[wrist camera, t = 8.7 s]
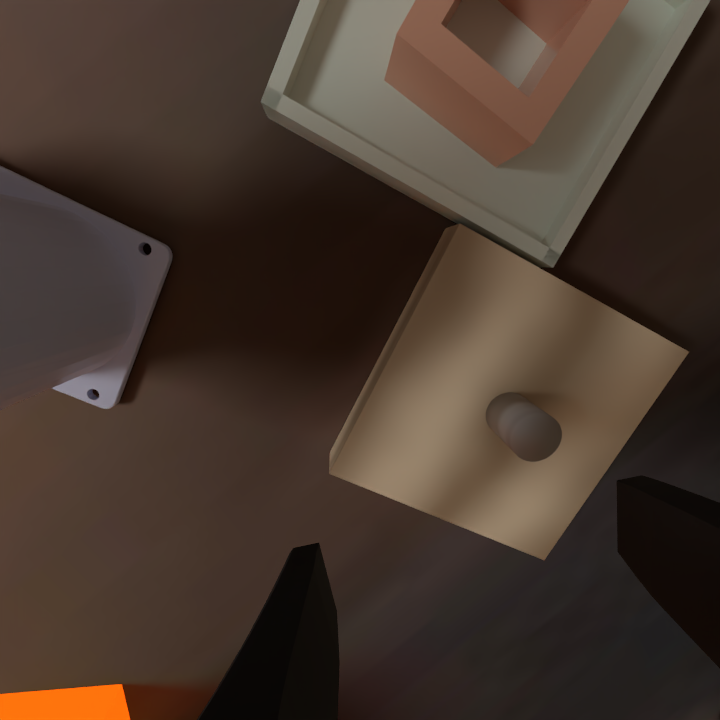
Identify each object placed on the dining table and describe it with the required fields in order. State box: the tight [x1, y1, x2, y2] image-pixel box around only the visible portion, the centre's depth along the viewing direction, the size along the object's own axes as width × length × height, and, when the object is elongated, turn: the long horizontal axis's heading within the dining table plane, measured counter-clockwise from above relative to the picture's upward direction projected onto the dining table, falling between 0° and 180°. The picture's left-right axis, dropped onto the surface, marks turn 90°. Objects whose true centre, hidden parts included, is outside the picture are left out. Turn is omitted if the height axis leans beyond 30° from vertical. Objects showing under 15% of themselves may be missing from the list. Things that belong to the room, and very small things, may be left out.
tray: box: [261, 0, 710, 268], centre depth 14 cm, size 13×11×2 cm
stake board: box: [329, 224, 689, 560], centre depth 16 cm, size 12×12×4 cm
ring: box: [384, 0, 629, 167], centre depth 13 cm, size 6×6×3 cm
